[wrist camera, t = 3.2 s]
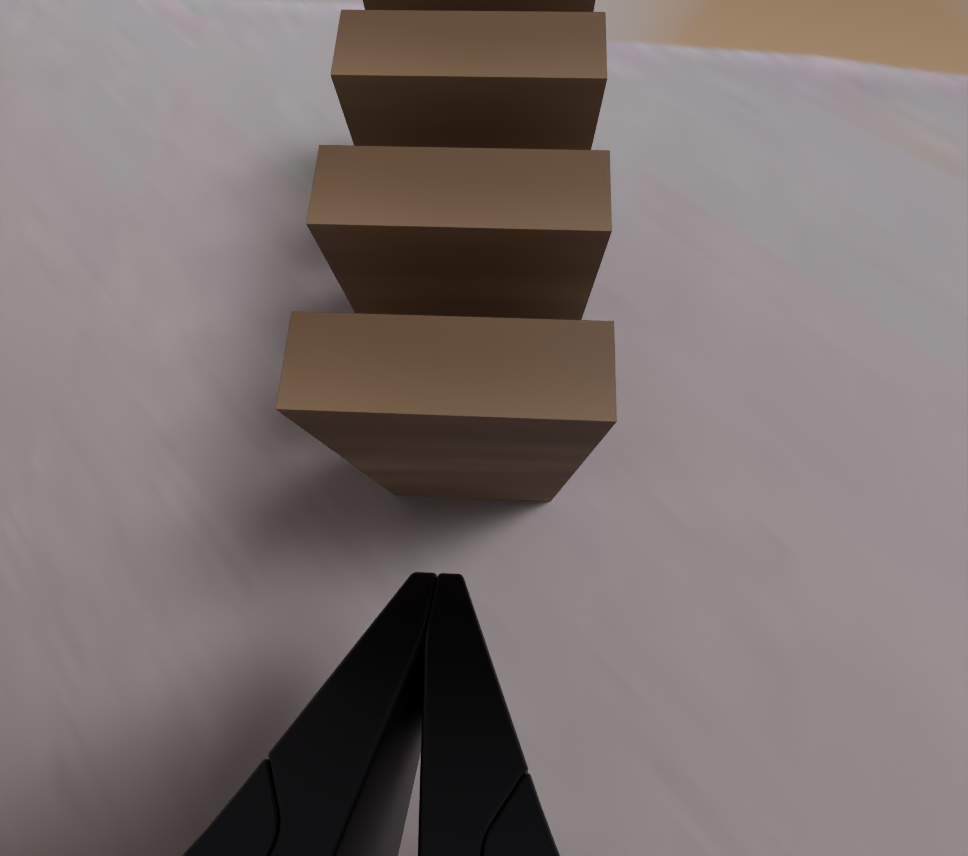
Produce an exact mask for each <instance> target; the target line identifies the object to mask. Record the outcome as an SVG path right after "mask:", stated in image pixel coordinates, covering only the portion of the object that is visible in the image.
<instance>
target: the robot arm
mask: <svg viewBox="0 0 968 856" xmlns="http://www.w3.org/2000/svg"><path fill="white" fill-rule="evenodd" d="M420 752H421V767H420V801H419V836H418V856H560V855H559V852H558V850H557V847H556V845H555V842H554V839H553V837H552V834H551V831H550V828H549V826H548V823H547V820H546V818H545V815H544V812H543V810H542V807H541V804H540V801H539V798H538V795H537V792H536V789H535V787H534V784H533V781H532V778H531V775H530V774H529V773H528V767H527V764H526V761H525V758H524V755H523V752H522V749H521V746H520V743H519V740H518V737H517V734H516V731H515V728H514V725H513V722H512V719H511V716H510V713H509V711H508V708H507V705H506V702H505V699H504V696H503V693H502V690H501V687H500V684H499V681H498V678H497V675H496V672H495V669H494V666H493V663H492V660H491V657H490V654H489V651H488V648H487V645H486V642H485V639H484V637H483V634H482V631H481V628H480V625H479V622H478V619H477V616H476V613H475V610H474V607H473V604H472V601H471V598H470V595H469V592H468V589H467V586H466V583H465V580H464V578H463V576H462V575H461V574H447V573H441V574H439V575H438V577H437V575H436V574H435V573H424V572H415V573H413V574H411V575H410V576H409V578H408V579H407V580H406V581H405V583H404V584H403V585H402V586H401V588H400V589H399V590H398V591H397V593H396V594H395V595H394V596H393V598H392V599H391V600H390V601H389V603H388V604H387V605H386V607H385V608H384V609H383V610H382V612H381V613H380V614H379V615H378V617H377V618H376V619H375V620H374V622H373V623H372V624H371V625H370V627H369V628H368V629H367V630H366V632H365V633H364V634H363V635H362V637H361V638H360V639H359V640H358V642H357V643H356V644H355V645H354V647H353V648H352V649H351V650H350V652H349V653H348V654H347V655H346V657H345V658H344V659H343V661H342V662H341V663H340V664H339V666H338V667H337V668H336V669H335V671H334V672H333V673H332V674H331V676H330V677H329V678H328V679H327V681H326V682H325V683H324V684H323V686H322V687H321V688H320V689H319V691H318V692H317V693H316V694H315V696H314V697H313V698H312V699H311V701H310V702H309V703H308V704H307V706H306V707H305V708H304V709H303V711H302V712H301V713H300V715H299V716H298V717H297V718H296V720H295V721H294V722H293V723H292V725H291V726H290V727H289V728H288V730H287V731H286V732H285V733H284V735H283V736H282V737H281V738H280V740H279V741H278V742H277V743H276V745H275V746H274V747H273V748H272V750H271V751H270V752H269V754H268V758H269V760H268V759H264V760H263V761H262V762H261V763H260V764H259V766H258V767H257V768H256V769H255V771H254V772H253V773H252V774H251V776H250V777H249V778H248V779H247V781H246V782H245V783H244V785H243V786H242V787H241V788H240V789H239V791H238V792H237V793H236V794H235V795H234V797H233V798H232V799H231V800H230V801H229V803H228V804H227V805H226V806H225V807H224V809H223V810H222V811H221V812H220V813H219V815H218V816H217V817H216V818H215V819H214V821H213V822H212V823H211V824H210V825H209V827H208V828H207V829H206V830H205V831H204V832H203V833H202V834H201V836H200V837H199V838H198V839H197V840H196V841H195V842H194V843H193V844H192V845H191V847H190V848H189V849H188V850H187V851H186V852H185V853H184V854H183V855H182V856H398V853H399V848H400V843H401V839H402V834H403V830H404V825H405V821H406V816H407V811H408V807H409V802H410V798H411V793H412V789H413V784H414V779H415V775H416V770H417V766H418V761H419V757H420Z"/></svg>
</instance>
